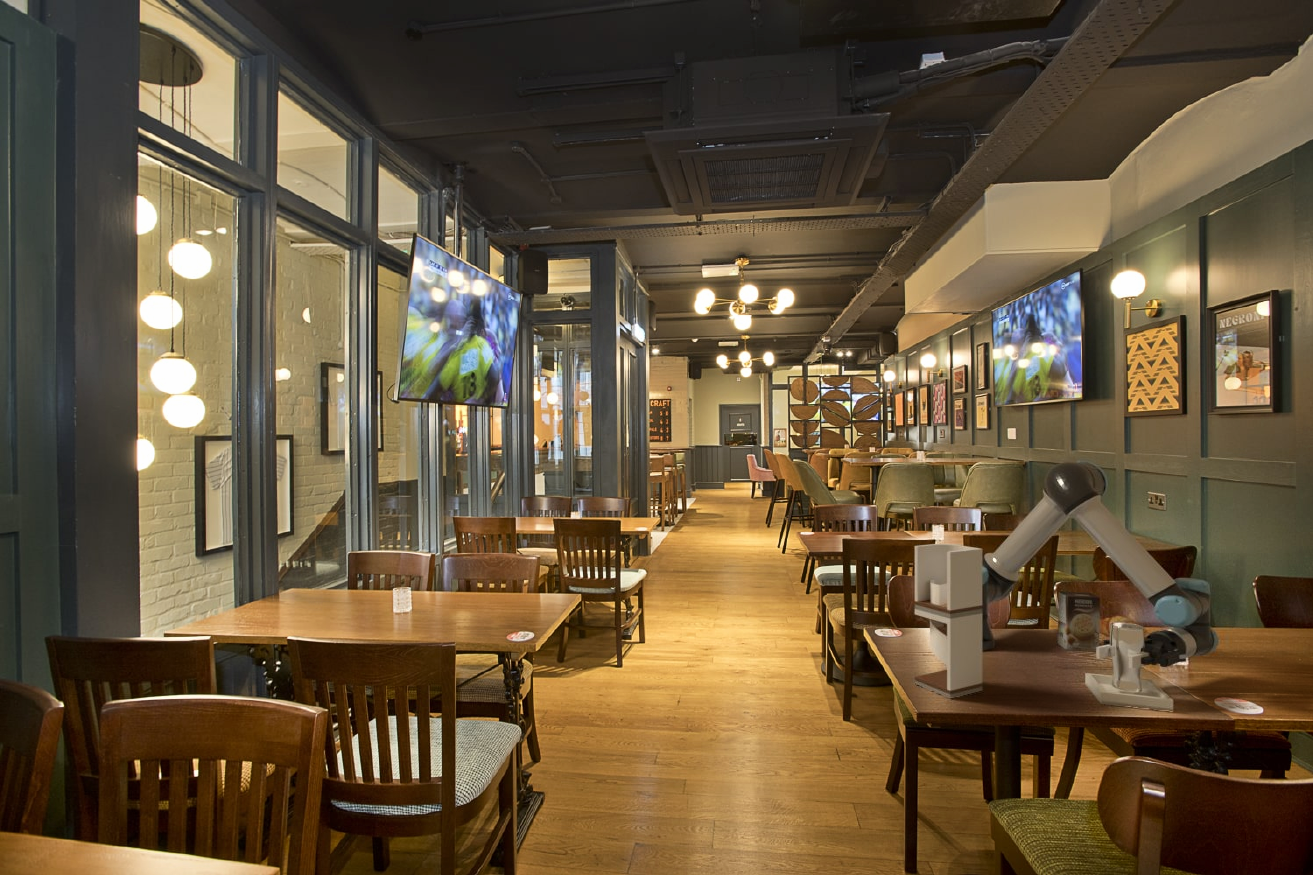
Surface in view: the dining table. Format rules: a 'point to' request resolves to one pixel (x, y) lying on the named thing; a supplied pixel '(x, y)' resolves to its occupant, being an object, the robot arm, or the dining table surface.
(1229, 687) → the dining table surface
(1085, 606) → the coffee box
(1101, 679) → the dish
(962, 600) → the tall white shelf unit
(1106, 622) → the croissant
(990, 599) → the robot arm
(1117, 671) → the beer glass
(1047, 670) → the dining table surface
